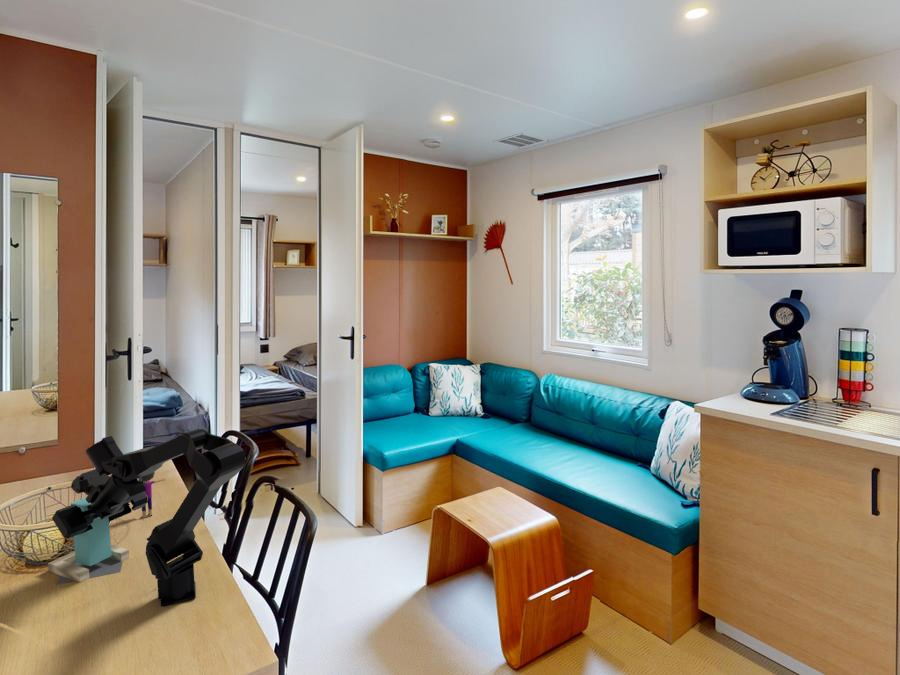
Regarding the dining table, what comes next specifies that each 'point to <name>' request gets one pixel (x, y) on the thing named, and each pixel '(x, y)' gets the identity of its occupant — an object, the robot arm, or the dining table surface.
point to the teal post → (92, 540)
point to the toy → (148, 492)
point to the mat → (97, 569)
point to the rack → (77, 573)
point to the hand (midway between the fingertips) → (87, 528)
